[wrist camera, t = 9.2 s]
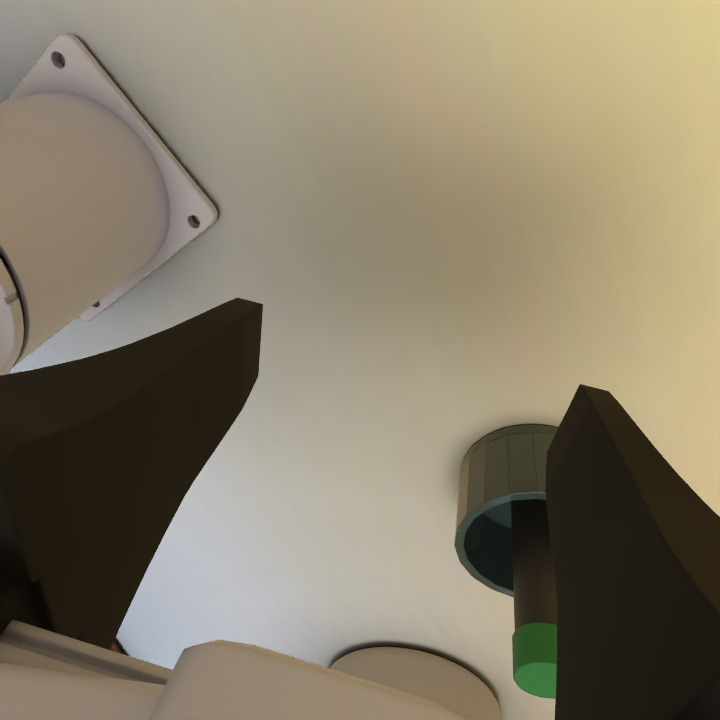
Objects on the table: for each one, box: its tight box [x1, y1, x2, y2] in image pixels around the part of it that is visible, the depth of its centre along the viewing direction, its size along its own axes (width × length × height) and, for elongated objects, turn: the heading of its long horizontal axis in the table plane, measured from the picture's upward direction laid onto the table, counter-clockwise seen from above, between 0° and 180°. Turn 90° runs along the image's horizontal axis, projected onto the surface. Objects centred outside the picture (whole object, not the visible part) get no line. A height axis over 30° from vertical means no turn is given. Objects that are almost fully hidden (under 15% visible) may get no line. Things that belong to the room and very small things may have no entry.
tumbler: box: [454, 424, 558, 597], centre depth 25 cm, size 7×7×4 cm
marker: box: [511, 499, 557, 698], centre depth 23 cm, size 2×2×9 cm
